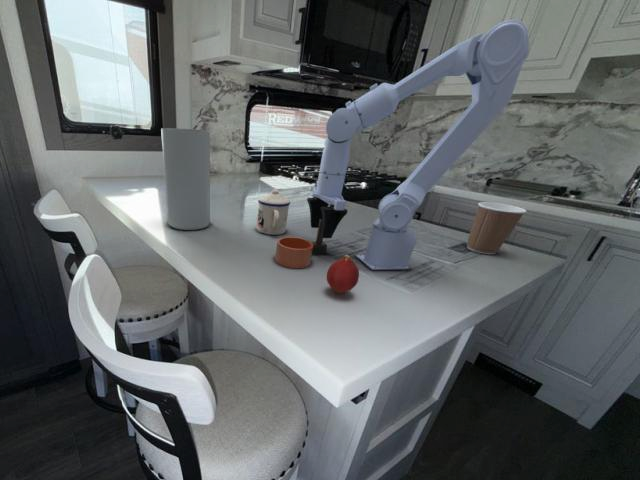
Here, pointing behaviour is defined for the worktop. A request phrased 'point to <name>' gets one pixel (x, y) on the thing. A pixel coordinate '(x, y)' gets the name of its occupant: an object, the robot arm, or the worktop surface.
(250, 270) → the worktop surface
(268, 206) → the teacup with lid
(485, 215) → the coffee cup
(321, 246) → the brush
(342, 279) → the onion
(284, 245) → the terracotta bowl
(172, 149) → the cylinder vase
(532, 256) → the worktop surface
